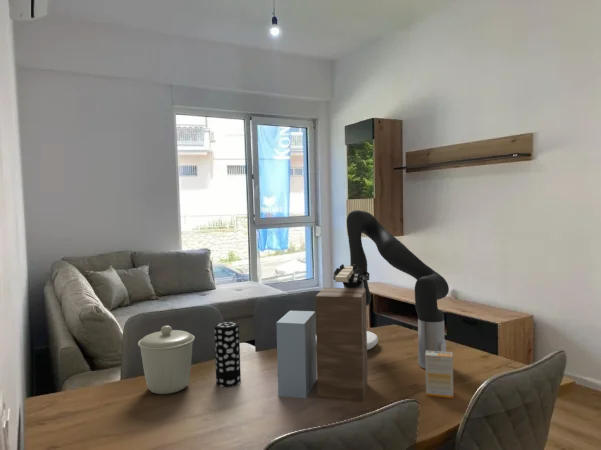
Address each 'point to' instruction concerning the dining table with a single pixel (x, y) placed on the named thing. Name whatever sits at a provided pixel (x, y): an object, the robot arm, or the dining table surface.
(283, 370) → the gray rectangular box
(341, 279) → the slat
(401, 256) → the robot arm
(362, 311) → the walnut box
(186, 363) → the canister
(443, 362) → the supplement box
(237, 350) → the white-spotted black cylinder
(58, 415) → the dining table surface
